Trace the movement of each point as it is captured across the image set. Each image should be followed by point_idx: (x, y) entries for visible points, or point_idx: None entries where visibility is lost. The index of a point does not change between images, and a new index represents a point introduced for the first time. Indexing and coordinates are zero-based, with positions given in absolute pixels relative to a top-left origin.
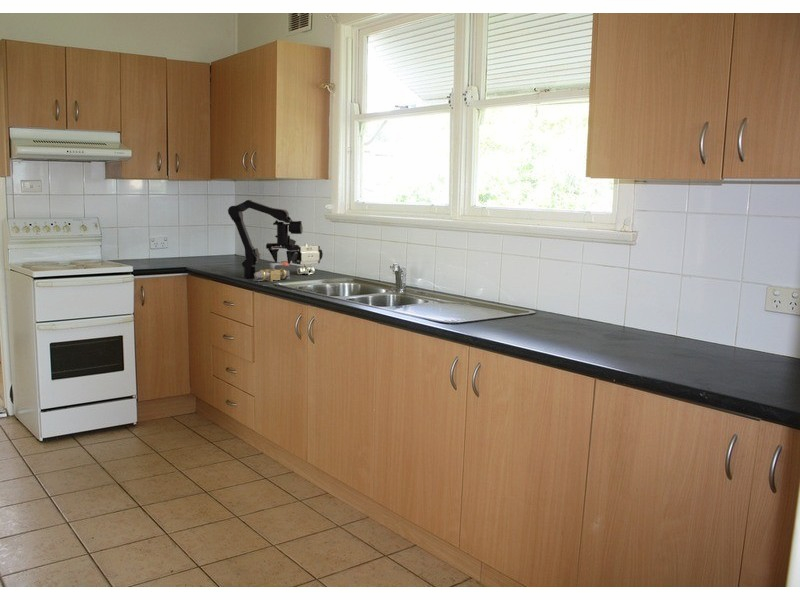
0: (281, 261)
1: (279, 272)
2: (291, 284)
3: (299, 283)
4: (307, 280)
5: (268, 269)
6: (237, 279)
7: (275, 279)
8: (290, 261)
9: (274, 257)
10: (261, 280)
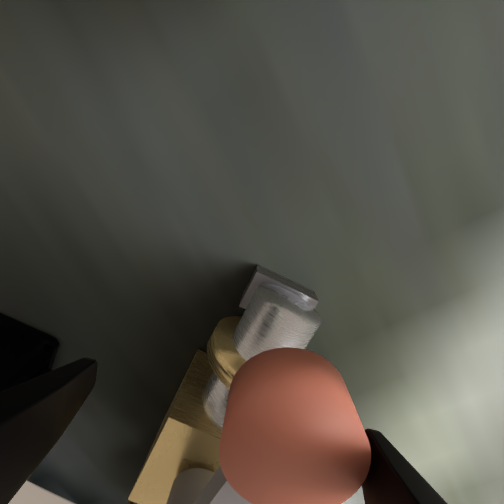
0: (232, 476)
1: None
2: None
3: (463, 447)
4: (476, 283)
5: (149, 467)
6: None
7: None
8: (405, 471)
9: (11, 493)
10: None
